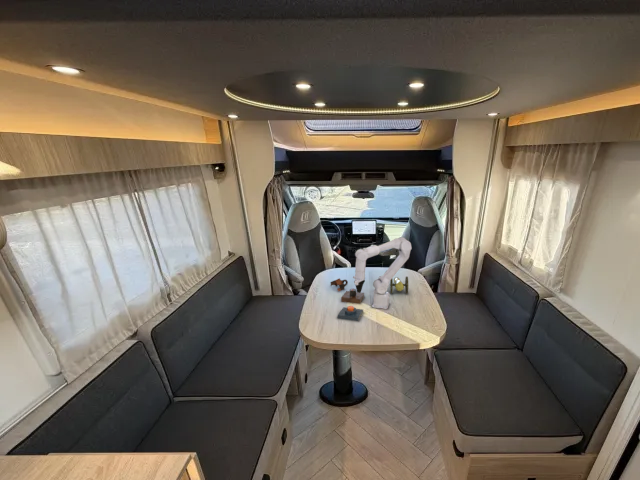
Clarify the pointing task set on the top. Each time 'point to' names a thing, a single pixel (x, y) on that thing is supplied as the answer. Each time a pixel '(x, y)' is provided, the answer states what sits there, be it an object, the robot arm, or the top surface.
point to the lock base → (352, 297)
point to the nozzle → (350, 308)
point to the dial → (352, 292)
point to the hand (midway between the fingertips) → (358, 292)
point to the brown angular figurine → (340, 283)
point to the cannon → (399, 285)
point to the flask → (350, 314)
